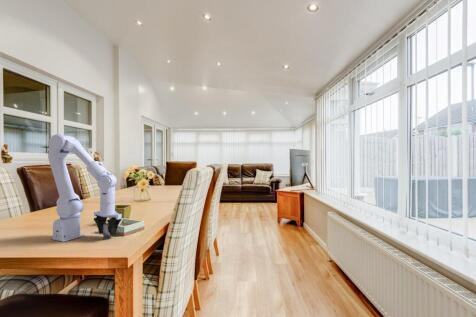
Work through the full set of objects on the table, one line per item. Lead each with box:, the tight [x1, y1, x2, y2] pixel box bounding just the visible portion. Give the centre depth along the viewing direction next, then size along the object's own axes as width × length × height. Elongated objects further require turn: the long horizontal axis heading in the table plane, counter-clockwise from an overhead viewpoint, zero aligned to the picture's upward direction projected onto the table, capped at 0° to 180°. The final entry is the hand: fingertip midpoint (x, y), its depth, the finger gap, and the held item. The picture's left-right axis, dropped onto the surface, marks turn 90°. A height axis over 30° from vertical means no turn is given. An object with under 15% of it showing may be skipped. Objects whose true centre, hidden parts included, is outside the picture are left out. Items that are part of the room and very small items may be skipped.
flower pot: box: [108, 204, 132, 220], centre depth 136 cm, size 9×9×9 cm
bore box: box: [106, 218, 145, 237], centre depth 123 cm, size 12×14×4 cm
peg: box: [102, 223, 112, 240], centre depth 113 cm, size 3×3×6 cm
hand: (107, 234), depth 113 cm, fingers open, 6 cm apart
